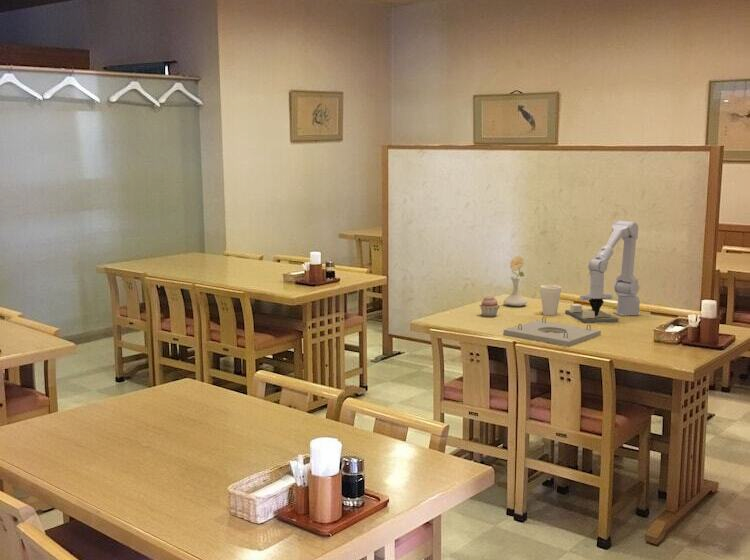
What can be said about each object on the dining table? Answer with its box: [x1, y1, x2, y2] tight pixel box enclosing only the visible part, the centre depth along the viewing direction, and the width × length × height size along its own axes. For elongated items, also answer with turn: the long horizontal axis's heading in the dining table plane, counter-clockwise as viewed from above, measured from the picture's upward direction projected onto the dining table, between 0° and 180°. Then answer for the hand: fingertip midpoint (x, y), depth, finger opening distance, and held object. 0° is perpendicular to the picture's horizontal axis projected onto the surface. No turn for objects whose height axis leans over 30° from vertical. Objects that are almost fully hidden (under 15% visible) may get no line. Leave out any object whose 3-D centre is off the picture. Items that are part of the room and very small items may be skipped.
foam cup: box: [540, 284, 562, 316], centre depth 383 cm, size 10×9×13 cm
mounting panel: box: [503, 316, 602, 347], centre depth 341 cm, size 27×5×30 cm
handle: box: [569, 303, 583, 312], centre depth 383 cm, size 4×4×3 cm
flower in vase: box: [503, 255, 528, 307], centre depth 402 cm, size 13×11×25 cm
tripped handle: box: [582, 309, 595, 318], centre depth 369 cm, size 4×4×3 cm
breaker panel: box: [564, 308, 619, 324], centre depth 377 cm, size 16×22×2 cm
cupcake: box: [479, 294, 501, 318], centre depth 380 cm, size 9×9×10 cm
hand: (595, 315), depth 370 cm, fingers closed
